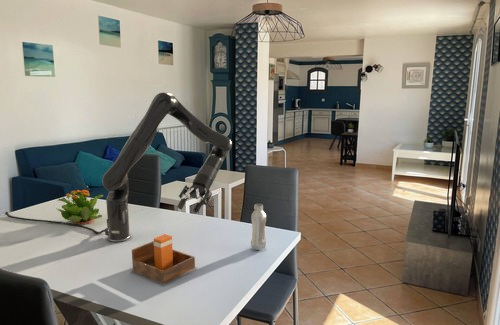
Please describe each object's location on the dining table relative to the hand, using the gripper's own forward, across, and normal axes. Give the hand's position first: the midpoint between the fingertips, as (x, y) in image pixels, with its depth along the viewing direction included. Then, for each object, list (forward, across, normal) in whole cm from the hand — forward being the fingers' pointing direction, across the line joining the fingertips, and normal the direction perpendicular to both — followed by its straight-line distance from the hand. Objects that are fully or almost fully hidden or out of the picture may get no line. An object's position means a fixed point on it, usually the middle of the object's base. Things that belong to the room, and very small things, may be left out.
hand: (186, 210), depth 151 cm
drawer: (+24, 0, +5) cm, 25 cm away
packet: (+24, 0, +5) cm, 24 cm away
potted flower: (+15, -77, +15) cm, 80 cm away
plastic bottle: (-3, +18, +32) cm, 37 cm away
